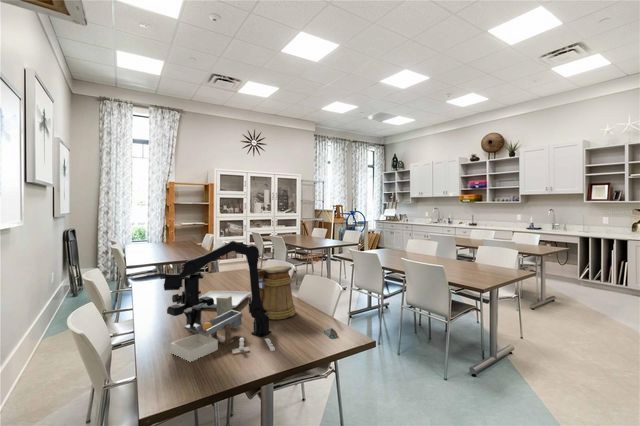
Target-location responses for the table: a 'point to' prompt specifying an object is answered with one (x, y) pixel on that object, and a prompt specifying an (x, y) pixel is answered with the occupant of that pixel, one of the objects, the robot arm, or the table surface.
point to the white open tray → (194, 347)
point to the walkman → (261, 283)
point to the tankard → (276, 292)
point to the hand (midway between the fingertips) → (191, 325)
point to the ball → (206, 326)
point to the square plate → (236, 295)
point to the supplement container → (198, 320)
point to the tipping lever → (218, 323)
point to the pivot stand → (223, 339)
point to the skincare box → (223, 304)
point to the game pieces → (242, 349)
